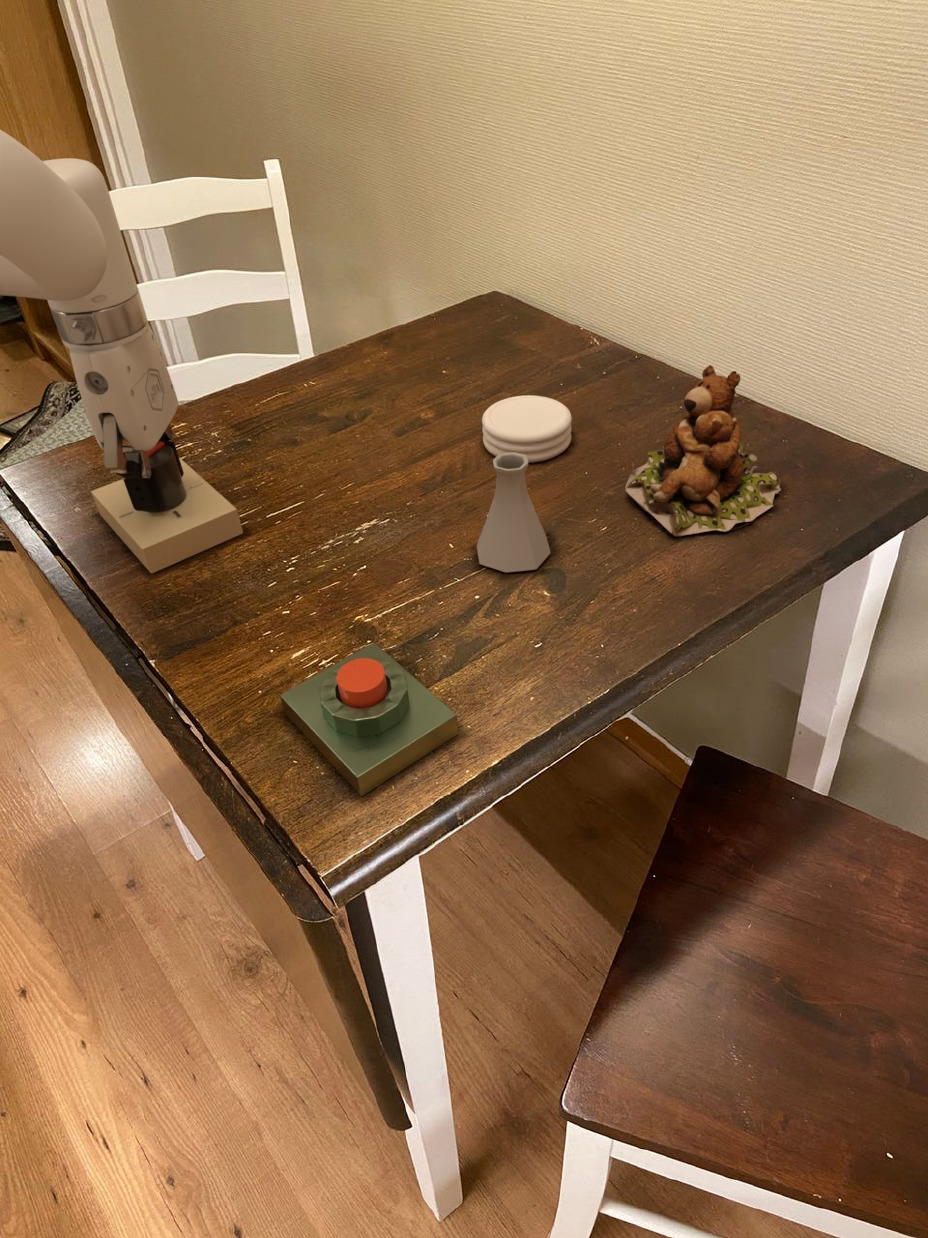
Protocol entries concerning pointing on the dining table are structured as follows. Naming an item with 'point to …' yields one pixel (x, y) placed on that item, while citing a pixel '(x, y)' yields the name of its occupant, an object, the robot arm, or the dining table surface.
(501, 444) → the cream round flat cylinder
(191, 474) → the panel
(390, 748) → the button block
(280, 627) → the dining table surface
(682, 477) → the bear figurine
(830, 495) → the dining table surface
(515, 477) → the flask
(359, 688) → the button
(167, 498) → the knob
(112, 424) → the robot arm
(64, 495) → the dining table surface
